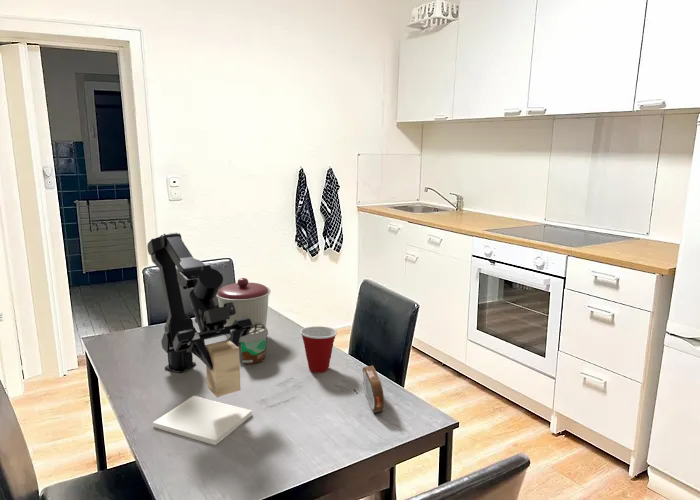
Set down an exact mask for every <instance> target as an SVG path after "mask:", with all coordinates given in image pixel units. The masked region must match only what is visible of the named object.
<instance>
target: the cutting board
mask: <svg viewBox="0 0 700 500" xmlns="http://www.w3.org/2000/svg"><path fill="white" fill-rule="evenodd" d="M251 416H253V410H252V409H248V408H245V407H240V406H235V405H231V404H227V403H224V402H219V401H215V400H212V399H208V398H204V397H200V396H197V395H193V396H190V397H189V398H188V399H186V400H185V401H183V402H181V403H180V404H178V405H176V407H174V408H173V409H171V410H169V411H168V412H167V413H165V414H164V415H161V416H160V417H159V418H157V419H156V420H154V421H152V425H153V428H155V429H159V430H162V431H166V432H168V433H169V432H170V433H173V434H175V435H176V434H177V435H180V436H183V437H186V438H189V439H193V440H196V441H199V442H203V443H206V444H209V445H213V446H217V445H218V444H219V443H220V442H221V441H223V440H224V439H225V438H226V437H228V435H230V434H231V433H232V432H234V431H235V430H236V429H237V428H239V427H240V426H241V425H242V424H243V423H244V422H246V421H247V420H248V419H249V418H250V417H251Z"/></svg>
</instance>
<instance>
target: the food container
mask: <svg viewBox="0 0 700 500" xmlns="http://www.w3.org/2000/svg"><path fill="white" fill-rule="evenodd" d="M268 336H269V330H268V327H267V324H266V325H265V324H263V323H259V322H255V325H254V326H253V327H252V329H251V330H250V332H249V333H248V335H246V336H243V337H240V342H241V343H240V350H241V360H242V366H253V365H258V364H261V363H263V362H264V361H265V359H266V345H267V337H268Z"/></svg>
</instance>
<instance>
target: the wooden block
mask: <svg viewBox="0 0 700 500" xmlns="http://www.w3.org/2000/svg"><path fill="white" fill-rule="evenodd" d="M205 347H206V349H207V352H208V354H209V357H210V359H211V362H212V365H213V369H212V370H210V369H209V368H208V367H207V366H206V365H205V370H206V387H207V389H208V390H209V391H210V392H211V393H212V394H213V395H214V396H215V398H220V397H224V396H226V395H229V394H232V393H236V392H239V391H241V390H242V388H241V370H240V369H241V368H240V367H241V364H240V346H239V347H237V346H236V345H235V344H234V343H232V342H231V341H230V340H228V339H225V340H221V341H217V342H214V343H213V342H212V343H209V344H205Z"/></svg>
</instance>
